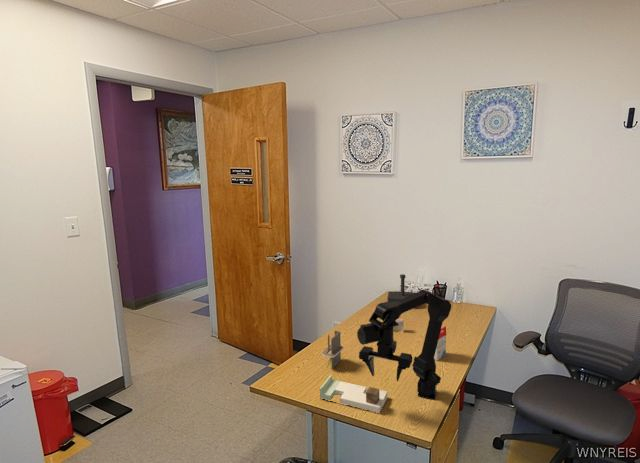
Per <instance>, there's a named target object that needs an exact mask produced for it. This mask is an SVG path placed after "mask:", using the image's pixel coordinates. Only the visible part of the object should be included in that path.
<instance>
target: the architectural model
mask: <svg viewBox="0 0 640 463" xmlns="http://www.w3.org/2000/svg"><path fill="white" fill-rule="evenodd" d="M330 342H331V343H330ZM342 350H344V346H342V345H341V331H338V330H334V335H333V337H331V339H330V334H327V347H326V348H325V349H324V350H323V351H322V353H321V354H322V356H323V357H327V358H329V360H328V362H327V366H326V368H328V367H329V368H328V369H331V368H333V367H334V366H335V367H336V366H337V364H339V363H340V362H341V360H342V355H341V354H342ZM329 352H330V353H329ZM333 369H334V368H333Z"/></svg>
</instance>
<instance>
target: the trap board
mask: <svg viewBox="0 0 640 463" xmlns="http://www.w3.org/2000/svg"><path fill="white" fill-rule="evenodd" d="M366 392H367V386H364V385H358V384H354V383H349V382H346V381H341V380H337V379H333V375H332V374H330V375H329V376H328V377H327V379H325V381H324V382H323V384H321V386H320V388H319V399H320V398H323V399H327V400H331V399H332V398H333V396H334V395H340V396H341V397H340V403H343V404H347V405H351V406H355V407H358V408H362V409H365V410H364V411H366V410H370V411H373V412H372V413H374V412H376V413H375V414H378V413H381V412H382V410H383V408H384V405H385V403H386V401H387V399H388V391H387V390H382V389H379V401H378V403H377V405H375V404H371V403H367V402H366ZM382 407H383V408H382ZM358 408H357V409H358ZM362 409H361V410H362ZM381 409H382V410H381ZM370 411H369V412H370ZM380 411H381V412H380Z"/></svg>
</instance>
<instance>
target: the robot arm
mask: <svg viewBox="0 0 640 463" xmlns="http://www.w3.org/2000/svg"><path fill="white" fill-rule="evenodd" d="M414 293H415V294H412V295H410V296H407V297H405V298H403V299H400V300H398V301H394V302H387V301H384V302H380V303H378V304H377V305H376V306H375V309H374V311H373V312H372V314H371V316H370V318H369V319H368V322H369V323H365V324H364V323H363V324H360V326H359V328H358V329H357V332H356V336H357V339H358V341H359V343H360V345H363V347H361V349H360V350H359V351H358V352H359V353H358V359H359V360H362V362H363V363H365V365H366V367H367V368H368V370H369V372H370V374H371V376H372V377H374V376H375V365H374V364H375V362H374V360H375V359H374V358H379V359H384V360H387V361H388V360H389V361H394V362H397V364H398V365H397V367H396V382H399V380H400V377H401V373H402V371H403V370H407V369H410V368H411V366H412V371H413V372H414V374H415V376H416V377H418V381H417V390H416V391H417V393H418V394H417V396H418V397H420V398H425V399H430V400H436V397H437V393H438V389H437V386H438V384H440V383H441V379H442V377H441V376H439V375H438V373H436V372H437V371H436V369H437V365H436V360H435V359H434V356H435V352H436V347H437V343H438V339H439V335H440V331H441V329H442V328H443V327H442V326H443V322H444V321H445V320H446V319H447V318H449V315H450V314H451V310H452V304H451V301H450V300H447V299H445V298H443V297H440V296H438V295H435V294H434V293H432V292H431V291H428V290H426V289H421V290H418V291H417V292H414ZM425 304H427V313H428V317H429V319H428V325H427V328H426V333H425V335H424V336H425V337H424V341H423V343H422V348H421V352H420V354H419V355H417V356H414V357H413V356H412V354H411V353H406V352H401V353H400V354H399V355H394V354H395V353H396V350H397V343H398V341H397V340H395V338H394V330H393V327H394V326H398V325H399V324H398V323H397V322H396V321H395V320H397V319H398V318H400V317H401V315H402V314H404V313H406V312H409V311H411V310H413V309H414V308H416V307H418V308H419V307H420V306H423V305H425ZM416 309H417V308H416ZM380 320H381V321H380ZM373 343H376V346H377V350H376V351H375V350H374V347H371V346H366V345H367V344H368V345H369V344H373Z"/></svg>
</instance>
